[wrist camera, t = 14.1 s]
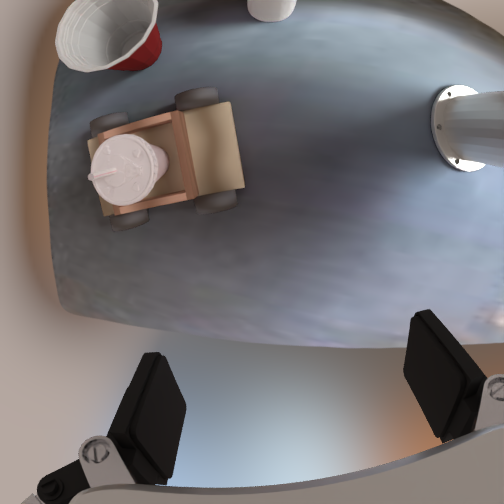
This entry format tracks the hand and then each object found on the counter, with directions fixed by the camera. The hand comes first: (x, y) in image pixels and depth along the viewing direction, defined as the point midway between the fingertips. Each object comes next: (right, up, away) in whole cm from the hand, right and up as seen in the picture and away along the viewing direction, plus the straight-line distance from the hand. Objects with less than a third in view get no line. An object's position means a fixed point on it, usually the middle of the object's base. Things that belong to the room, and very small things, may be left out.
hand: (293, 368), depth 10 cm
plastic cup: (-15, +30, +20) cm, 39 cm away
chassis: (-12, +16, +25) cm, 31 cm away
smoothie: (-13, +15, +23) cm, 30 cm away
